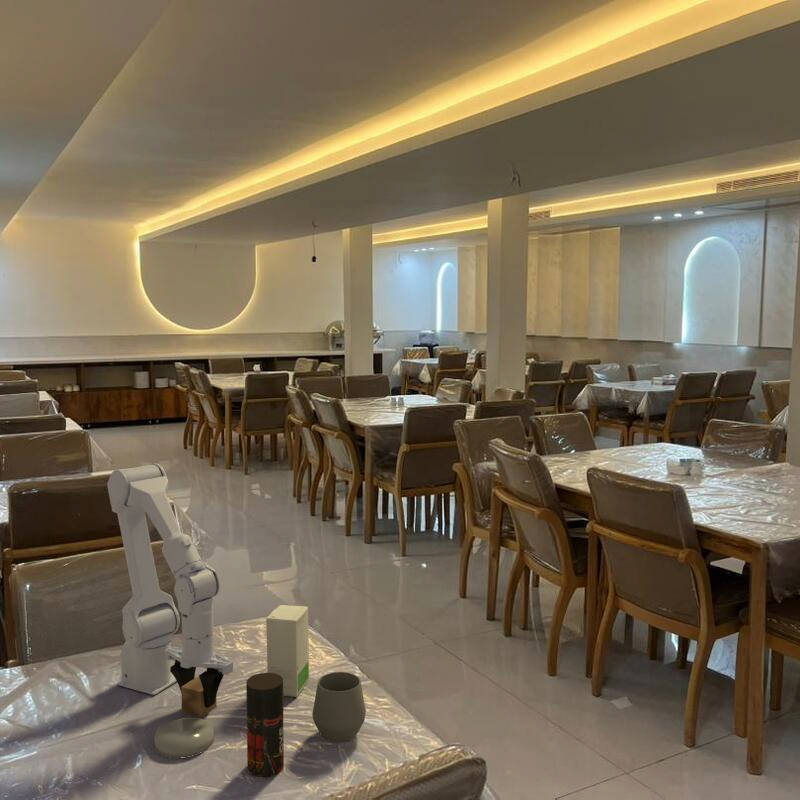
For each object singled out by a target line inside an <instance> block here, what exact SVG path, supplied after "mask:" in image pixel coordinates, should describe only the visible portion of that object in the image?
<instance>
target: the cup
mask: <svg viewBox="0 0 800 800" xmlns="http://www.w3.org/2000/svg"><path fill="white" fill-rule="evenodd" d="M361 681H362V680H361V679H360V677H359V676H357V675H356V674H354V673H351V672H348V671H347V672H346V671H333V672H329V673H326V674H324V675H322V676H321V677H320V678H318V682H317V686H316V691H315V697H314V703H313V707H312V708H313V709H312V715H311V716H312V720H313V723H314V725H315V727H316V728H317V730H318V732H319V734H320V736H321V737H322V738H323V739H324V740H326V741H328V742H329V743H336V744H337V743H339V744H340V743H341V744H342V743H346V742H349V741H351V740H353V739H354V738H356V736H357V735H358V734H359V732H360V730H361V728H362V726H363V724H364V723H365V720H366V713H367V711H366V705H365V699H364V694H363V688H362V682H361Z"/></svg>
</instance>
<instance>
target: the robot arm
mask: <svg viewBox="0 0 800 800" xmlns="http://www.w3.org/2000/svg"><path fill="white" fill-rule="evenodd" d="M168 489H169V479H168V476H167V473H166V471H165V469H164V467H163V466H161V464H159V463H151V464H147V465H142V466H137V467H130V468H123V469H114V470H113V471H112V472H111V474H110V476H109V479H108V481H107V491H108V496H109V501H110V502H109V503H110V506H111V511H112V512H113V513H116V514H117V519H118V525H119V529H120V535H121V539H122V544H123V549H124V554H125V559H126V564H127V572H128V576H129V581H130V586H131V592H132V596H131V598H130V599H129V600H128V602H127V603H126V604H125V605H124V606H123V608H122V610H121V611H122V614H121V615H122V625H121V627H122V635H123V637H124V639H125V642H124V644H123V645H122V648H121V651H120V670H121V671H120V672H121V673H120V674H121V681H119V682H118V686H121V687H124V688H127V689H131V690H134V691H138V692H141V693H145V694H148V695H152V696H155V695H157V694H159V693H161V692H162V691H164V690H166V689H167V688H168V687H170V686H172V685H173V684H175V683H176V682H177V685H178V687H179V690H180V691H181V687H182V686H183V685H185V684H187V683H188V682H190V681H191V680H193V679H194V678H196V677H195V676H196V670H197V668H202V669H203V668H204V669H206V670H205V671H203V672H202V673H200V674H199V675H198V677H199V678H200V680H201V683H202V687H203V692H204V704H205V707H206V708H209V707H210V706H212V705H213V704H215V700H216V701H217V694H218V691H219V689H220V688H219V687H220V686H221V683H222V681H223V678H224V676H228V675H229V674H231V673H233V672H234V661H232V660H229V659H226V658H225V657H223V656H222V655H220V654H218V652H217V653H216V652H215V649H214V648H215V647H214V646H215V644H214V642H215V641H214V640H215V639H214V636H215V635H214V597H216V596H217V595H218V594H219V591H220V580H219V576H218V574H217V571H216V570H215V569H214V568H213V567H212V566H210V565H208V562H206V561H203V560H202V558H201V556H200V554H199V551H198V550H197V548H196V546H195V544H194V542H193V539H192V538H191V536H190V535H188V534H185V533H184V532H183V533H182V531H181V528H180V526H179V523H178V521H177V518H176V516H175V513H174V511H173V508H172V505H171V503H170V500H169V498H168V496H167V494H168ZM146 514H147V515H148V517H149V519H150V521H151V522H152V524H153V526H154V527H155V529H156V530H157V532H158V534H159V535H160V537H161V539H162V540H163V544H162V547H161V552H162V554H163V557H164V559H165V560H166V563H167V565H168V566H169V569H170V571H171V573H172V575H173V577H174V579H175V583H174V584H175V585H174V586H173V590H174V591H173V592H174V595H175V598H176V600H177V605H178V606H177V607H178V609H177V608H176V606H175V603H174V600H173V596H172V595H170V594H169V593H167V592H165V591H163V590H161V588H160V585H159V583H160V582H159V579H158V578H159V577H158V574H157V568H156V564H155V563H156V562H155V558H154V553H153V548H152V543H151V537H150V532H149V528H148V527H149V526H148V523H147V522H148V521H147V518H146V517H147V516H146ZM147 608H148V609H147ZM179 612H180V613H181V617H180V613H179ZM180 618H181V619H180ZM180 620H181V621H180ZM180 622H181V642H182V643H181V646H182V647H178V646H177V647H176V646H172V644H171V642H172V641H171V640H172V639H174V638H175V636H174V635H175V633H176V632H177V631H179V627H180ZM172 660H173V661H174V665H172Z"/></svg>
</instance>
